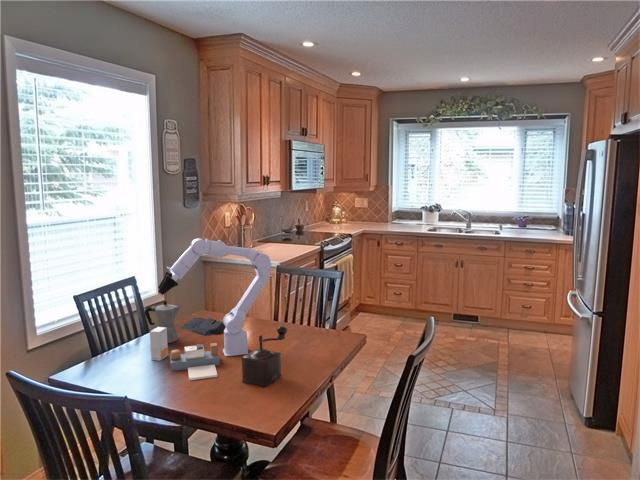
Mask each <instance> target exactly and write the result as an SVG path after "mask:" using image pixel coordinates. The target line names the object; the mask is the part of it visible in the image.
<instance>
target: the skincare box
mask: <svg viewBox="0 0 640 480" xmlns="http://www.w3.org/2000/svg"><path fill="white" fill-rule="evenodd" d="M149 337H150V338H149V340H150V342H149V343H150V358H151V359H150V360H151V361H157V362H158V361H160V362H161V361H162V360H163V359H165V358H166V357H168V356H169V352H168V351H169V350H168V343H167V328H166V327H158V326H157V327H155V328H153V329H152V330H150V331H149Z"/></svg>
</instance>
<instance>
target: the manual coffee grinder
mask: <svg viewBox="0 0 640 480" xmlns="http://www.w3.org/2000/svg"><path fill="white" fill-rule="evenodd" d="M276 332H277V333H278V336H277V338H276V337H274V338H273V337H269V338H263V335H258V342H259V348H256V349H254V350H253V351H251V352H248V354H244V356H242V357H241V368H242V369H241V370H242V371H241V372H242V376H241V377H242V383H244V384H248V385H251V386H256V387H257V386H258V387H261V388H267V387H270V386H271V385H272V384H274V383H276V382H277V381H278V380H279V379H280V378H281V377H282V374H281V373H282V368H281V367H282V365H281V364H282V362H281V358H282V357H281V355H282V353H281V352H279V351H274V350H269V349H267V348H263V343H265V342H269V341H282V340H285V339H286V334H287V333H288V328H287V327H286V326H283V325H282V326H279V327H277V329H276Z"/></svg>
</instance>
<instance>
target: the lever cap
mask: <svg viewBox="0 0 640 480" xmlns="http://www.w3.org/2000/svg"><path fill="white" fill-rule="evenodd" d="M204 352H205V348H204V344H203V343H198V344H195V345H188V346H184V354H185V359H186V360H190V359H198V358H204Z"/></svg>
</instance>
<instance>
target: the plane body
mask: <svg viewBox="0 0 640 480" xmlns="http://www.w3.org/2000/svg"><path fill="white" fill-rule="evenodd" d="M209 344H210V350H207V351H205V350H204V358H198V359H190V360H186V359H185V353H182V354H181V350H180V349H172V350H171V351H170V357H169V359H170V371H171V372H172V371H182V370H188V368H190V367H198V366H206V365H213V364H215V366H219V365H221V364H220V356H219V353H218V343H217V342H214V343H213V342H210V343H209Z"/></svg>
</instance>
